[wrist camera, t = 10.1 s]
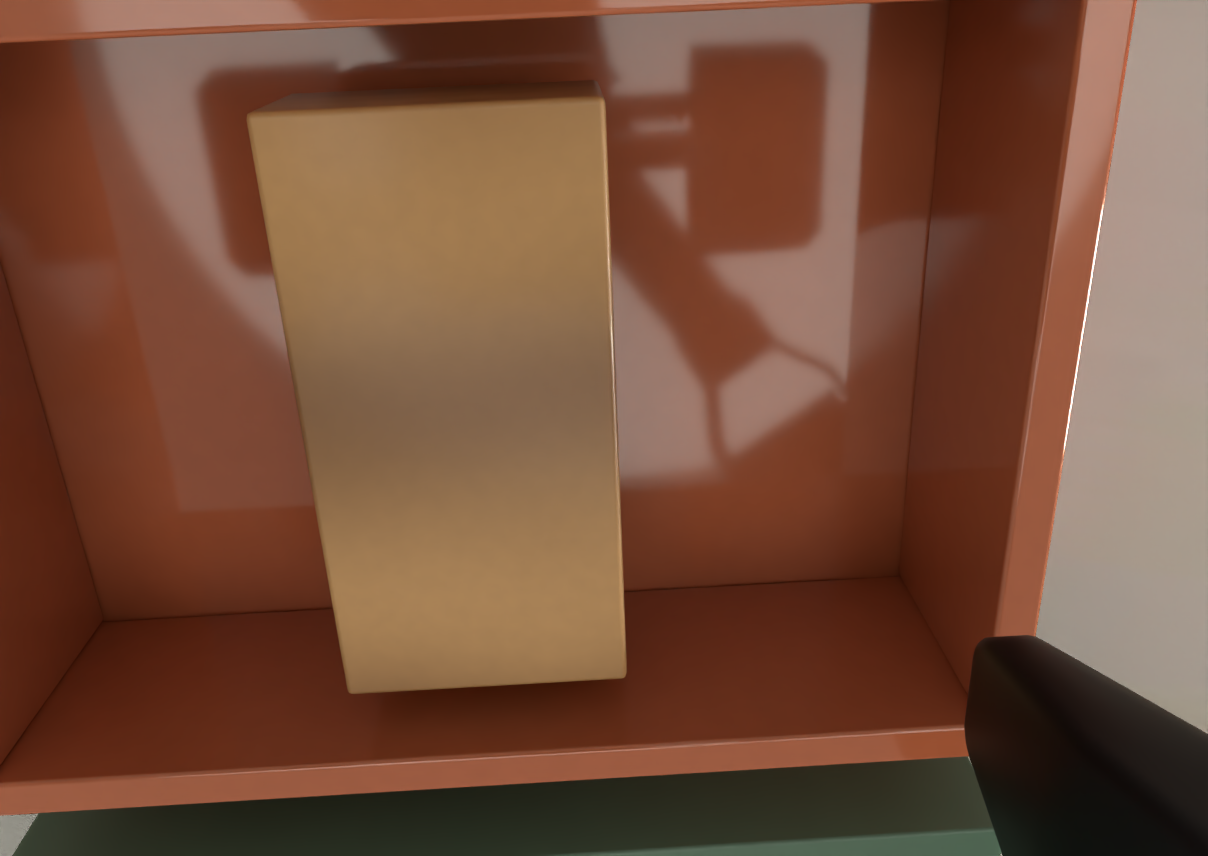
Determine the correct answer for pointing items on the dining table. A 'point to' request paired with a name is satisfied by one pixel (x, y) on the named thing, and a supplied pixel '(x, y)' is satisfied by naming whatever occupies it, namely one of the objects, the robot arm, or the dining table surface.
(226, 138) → the terracotta tub
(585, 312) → the tan wooden block
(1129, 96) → the dining table surface
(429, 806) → the green tub
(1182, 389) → the dining table surface
